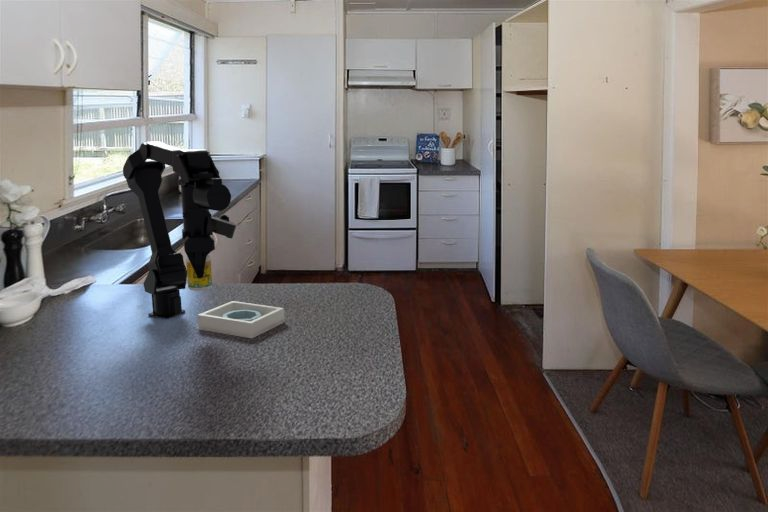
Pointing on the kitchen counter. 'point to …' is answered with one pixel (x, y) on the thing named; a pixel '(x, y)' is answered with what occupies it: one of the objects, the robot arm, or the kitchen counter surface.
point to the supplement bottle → (196, 282)
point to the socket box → (241, 319)
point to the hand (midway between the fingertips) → (199, 275)
